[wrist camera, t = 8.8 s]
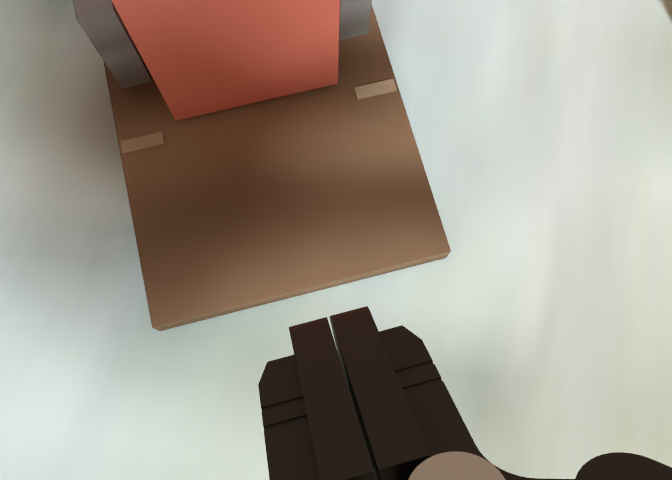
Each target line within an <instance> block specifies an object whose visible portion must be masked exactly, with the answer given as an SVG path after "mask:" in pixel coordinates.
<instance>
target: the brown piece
mask: <svg viewBox="0 0 672 480" xmlns="http://www.w3.org/2000/svg"><path fill="white" fill-rule="evenodd" d="M73 3H74V9H75V15H76V19H77V20H78V22H79V23H80V25H81V26H82V28H83V29H84V31H85V32H86V34H87V36H88V37H89V39H90V40H91V42H92V43H93V45H94V46H95V48H96V49H97V51H98V53H99V54H100V56H101V57H102V59H103V61H104V66H105V72H106V77H107V83H108V88H109V93H110V99H111V104H112V110H113V115H114V121H115V126H116V132H117V137H118V143H119V148H120V154H121V159H122V164H123V170H124V175H125V181H126V186H127V192H128V197H129V203H130V208H131V214H132V219H133V225H134V230H135V235H136V241H137V246H138V252H139V257H140V263H141V268H142V274H143V279H144V285H145V290H146V296H147V301H148V306H149V312H150V317H151V323H152V328H155V329H157V330H159V331H162V330H166V329H169V328H173V327H177V326H181V325H185V324H189V323H193V322H197V321H201V320H205V319H209V318H212V317H216V316H220V315H224V314H228V313H232V312H236V311H240V310H244V309H248V308H252V307H255V306H259V305H263V304H267V303H271V302H275V301H279V300H283V299H287V298H291V297H295V296H298V295H302V294H306V293H310V292H314V291H318V290H322V289H326V288H330V287H334V286H338V285H342V284H345V283H349V282H353V281H357V280H361V279H365V278H369V277H373V276H377V275H381V274H385V273H388V272H392V271H396V270H400V269H404V268H408V267H412V266H416V265H420V264H424V263H428V262H431V261H435V260H439V259H443V258H446V257H447V256H448V254H449V253H450V252H451V250H450V247H449V244H448V241H447V238H446V235H445V232H444V229H443V226H442V222H441V219H440V216H439V213H438V210H437V207H436V204H435V201H434V198H433V194H432V191H431V188H430V185H429V182H428V179H427V176H426V173H425V169H424V166H423V163H422V160H421V157H420V154H419V151H418V148H417V145H416V141H415V138H414V135H413V132H412V129H411V126H410V123H409V120H408V117H407V113H406V110H405V107H404V104H403V101H402V98H401V95H400V92H399V89H398V85H397V82H396V79H395V76H394V73H393V70H392V67H391V64H390V60H389V57H388V54H387V51H386V48H385V45H384V42H383V39H382V36H381V32H380V29H379V26H378V23H377V20H376V17H375V14H374V11H373V8H372V4H371V3H372V0H340V21H339V55H338V84H334V85H330V86H325V87H321V88H317V89H312V90H308V91H304V92H299V93H295V94H290V95H286V96H282V97H277V98H273V99H269V100H264V101H260V102H256V103H251V104H247V105H242V106H238V107H234V108H229V109H225V110H221V111H216V112H212V113H207V114H203V115H199V116H194V117H190V118H186V119H181V120H177V121H175V119H174V117H173V115H172V113H171V111H170V109H169V107H168V106H167V104H166V102H165V100H164V98H163V96H162V94H161V92H160V90H159V89H158V87H157V85H156V83H155V81H154V79H153V77H152V75H151V74H150V72H149V70H148V68H147V66H146V64H145V62H144V60H143V59H142V57H141V55H140V53H139V51H138V49H137V47H136V45H135V43H134V42H133V40H132V38H131V36H130V34H129V32H128V30H127V28H126V27H125V25H124V23H123V21H122V19H121V17H120V15H119V13H118V12H117V10H116V8H115V6H114V4H113V2H112V0H73Z"/></svg>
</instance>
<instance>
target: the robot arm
mask: <svg viewBox="0 0 672 480" xmlns="http://www.w3.org/2000/svg"><path fill="white" fill-rule="evenodd" d="M330 321H331V325H332V330H333V334H334V338H335V342H334V339H333V336H332V333H331V329H330V326H329V323H328V320H327V317H326V318H322V319H318V320H314V321H310V322H307V323H303V324H299V325H295V326H292V327H289V330H290V335H291V340H292V345H293V350H294V355H291V356H288V357H284V358H280V359H276V360H273V361H269V362H267V364H266V367H265V369H264V372H263V374H262V377H261V379H260V382H259V384H258V385H259V394H260V402H261V409H262V419H263V427H264V436H265V444H266V452H267V461H268V469H269V478H270V480H672V468H671V467H669V466H666V465H664V464H662V463H659V462H657V461H654V460H652V459H649V458H647V457H644V456H641V455H636V454H632V453H622V452H621V453H608V454H603V455H600V456H597V457H595V458H593V459H591V460H589V461H588V462H587V463H586V464H584V465H583V466H582V468H581V469H580V470H579V472H578V474H577V476H576V478H575V479H535V478H526V477H521V476H517V475H514V474H511V473H508V472H506V471H504V470H502V469H499V468H498V467H496V466H495V465H493V464H492V463H491V462H489V461H488V460H487V459H486V458H485V457H484V456H483V455H482V454H481V453H480V451H479V450H478V448H477V447H476V445H475V443H474V441H473V439H472V437H471V435H470V433H469V431H468V429H467V427H466V425H465V423H464V422H463V420H462V418H461V416H460V414H459V412H458V410H457V408H456V406H455V404H454V402H453V400H452V398H451V396H450V394H449V392H448V390H447V388H446V386H445V384H444V382H442V380H441V376H440V374H439V372H438V370H437V368H436V367H435V365H434V364H433V361H432V359H431V357H430V355H429V353H428V351H427V349H426V347H425V345H424V343H423V341H422V340H421V339H420V338H419V337H417V336H416V335H414V334H413V333H412V332H410V331H409V330H408V329H406V328H405V327H404V326H399V327H395V328H391V329H387V330H384V331H380V332H378V329H377V327H376V325H375V322H374V320H373V317H372V315H371V313H370V310H369V308H368V307H367V306H366V307H363V308H359V309H355V310H351V311H348V312H344V313H340V314H336V315H332V316H330ZM335 343H336V346H335ZM336 347H337V349H336Z"/></svg>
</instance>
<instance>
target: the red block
mask: <svg viewBox="0 0 672 480" xmlns="http://www.w3.org/2000/svg"><path fill="white" fill-rule="evenodd" d="M112 2H113V4H114V6H115V8H116V10H117V12H118V13H119V15H120V17H121V19H122V21H123V23H124V25H125V27H126V28H127V30H128V32H129V34H130V36H131V38H132V40H133V42H134V43H135V45H136V47H137V49H138V51H139V53H140V55H141V57H142V59H143V60H144V62H145V64H146V66H147V68H148V70H149V72H150V74H151V75H152V77H153V79H154V81H155V83H156V85H157V87H158V89H159V90H160V92H161V94H162V96H163V98H164V100H165V102H166V104H167V106H168V107H169V109H170V111H171V113H172V115H173V117H174V119H175V121H177V120H181V119H186V118H190V117H194V116H199V115H203V114H207V113H212V112H216V111H221V110H225V109H229V108H234V107H238V106H242V105H247V104H251V103H256V102H260V101H264V100H269V99H273V98H277V97H282V96H286V95H290V94H295V93H299V92H304V91H308V90H312V89H317V88H321V87H325V86H330V85H334V84H338V55H339V21H340V0H112Z"/></svg>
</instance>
